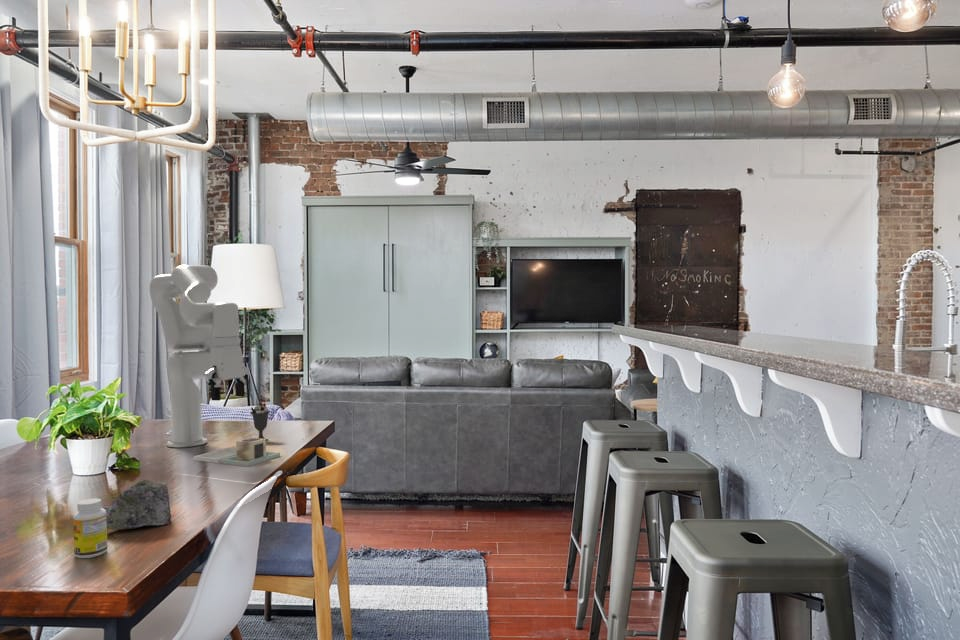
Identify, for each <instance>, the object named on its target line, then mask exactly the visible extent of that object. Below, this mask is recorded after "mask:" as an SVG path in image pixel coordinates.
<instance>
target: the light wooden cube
mask: <svg viewBox="0 0 960 640" xmlns="http://www.w3.org/2000/svg"><path fill="white" fill-rule="evenodd" d="M266 439H267V438H265V439H261V438H258V437H247V438H244V439H239V440H236V441H235V446H236V447H235V448H236V454H237V461H245V462H248V461H251V460H254V459H258V458H261V457H264V456H266V451H267V441H266Z"/></svg>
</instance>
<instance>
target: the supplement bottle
mask: <svg viewBox="0 0 960 640" xmlns="http://www.w3.org/2000/svg"><path fill="white" fill-rule="evenodd" d="M103 508H104V507H103V506H102V499H101V498H87V499H82V500H80V501H78V502H77V507H76V509H77V511H76V512H75V513H73V515H72V523H73V525H72V526H73V527H72V529H73V530H72V531H73V549H74V551H73V552H74V556H75V557H76V558H78V559H91V558H96V557H99V556H102V555H104V554H105V553H106V552H107V551H108V529H107V517H106V510H105V509H103Z"/></svg>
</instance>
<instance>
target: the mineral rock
mask: <svg viewBox="0 0 960 640" xmlns="http://www.w3.org/2000/svg"><path fill="white" fill-rule="evenodd" d="M170 504H171V503H170V494H169V488H168V484H167V482H166V481H158V482H152V481H151V480H149V479H141V480H139V481H138V482H136V483H134V484H133V485H132V486H131V487H129V489H127V490H125V491H123V492H122V493H121V494H119V495H118V496H116V497H115V498H114V500H113V501H112V502H111V503H110V504H108V505H107V506H105V507H102V508H103V509H105V510H106V517H107V530H133V529H137V528H141V527H149V526H163V525H169V524H170V523H171V520H172V514H171V512H172V511H171V507H170Z"/></svg>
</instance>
